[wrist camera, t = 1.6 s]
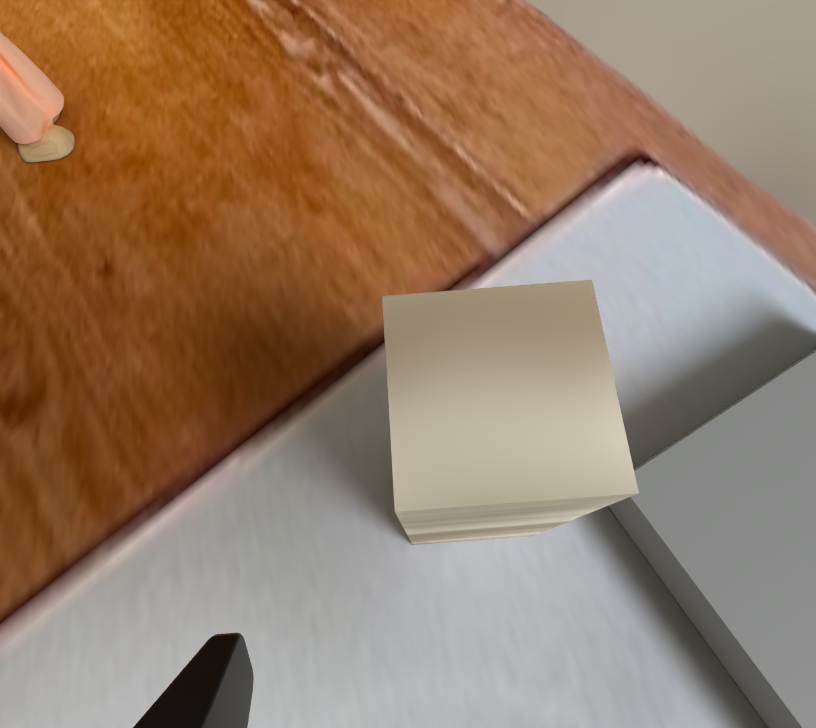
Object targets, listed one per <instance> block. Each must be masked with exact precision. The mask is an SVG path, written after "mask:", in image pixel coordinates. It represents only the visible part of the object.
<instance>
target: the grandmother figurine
mask: <svg viewBox="0 0 816 728" xmlns="http://www.w3.org/2000/svg"><path fill="white" fill-rule="evenodd" d="M63 106H64V97H63V95H62V93H61V92H60V91H59V90H58V89H57V88H56V86H55V85H54V84H53V83H52V82H51V81H50V80H49V79H48V77H47V76H46V75H45V74H44V73H43V72H42V71H41V70H40V69H39V68H38V67H37V66H36V65H35V64H34V63H33V62H32V61H31V60H30V59H29V58H28V57H27V56H26V55H25V54H24V53H23V52H22V51H21V50H20V49H19V48H17V47H16V46H15V45H14V44H13V43H12V42H11V41H10V40H8V39H7V38H6V37H5V36H4V35H3V34H2V33H1V32H0V127H1V128H2V129H3V130H4V131H5V133H6V134H7V135H8V136H9V137H10V138H11V139H12V140H13V141H14V142H15V143H19V145H18V150H19V153H20V156H21V158H22V159H23V160H24V161H26V162H41V161H49V160H56V159H60V158H62V157H65V156H66V155H68V154H69V153H70V152H71V151H72V150H73V148H74V145H75V139H74V135H73V134H72V133H71V132H70V131H69V130H67V129H66V128H64V127H61V126H57V125H54V124H53V123H54V122H55V121H56V120H57V119H58V117H59V115H60V111H61V110H62V108H63Z"/></svg>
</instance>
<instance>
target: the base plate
mask: <svg viewBox="0 0 816 728" xmlns="http://www.w3.org/2000/svg"><path fill="white" fill-rule="evenodd" d="M634 473H635V477H636V482H637V486H638V491H639V494H636V495H634V496H631V497H629V498H626V499H624V500H621V501H619V502H616V503H614V504H611V505H609V506H608V507H609V508H610V510H611V511H612V513H613V514H614V515H615V517H616V518H617V519H618V521H619V522H620V524H621V525H622V526H623V528H624V529H625V531H626V532H627V533H628V535H629V536H630V537H631V539H632V540H633V542H634V543H635V544H636V546H637V547H638V549H639V550H640V551H641V553H642V554H643V555H644V557H645V558H646V560H647V561H648V562H649V564H650V565H651V566H652V568H653V569H654V571H655V572H656V573H657V575H658V576H659V578H660V579H661V580H662V582H663V583H664V584H665V586H666V587H667V589H668V590H669V591H670V593H671V594H672V596H673V597H674V598H675V600H676V601H677V602H678V604H679V605H680V607H681V608H682V609H683V611H684V612H685V613H686V615H687V616H688V618H689V619H690V620H691V622H692V623H693V625H694V626H695V627H696V629H697V630H698V631H699V633H700V634H701V636H702V637H703V638H704V640H705V641H706V642H707V644H708V645H709V647H710V648H711V649H712V651H713V652H714V654H715V655H716V656H717V658H718V659H719V660H720V662H721V663H722V665H723V666H724V667H725V669H726V670H727V672H728V673H729V674H730V676H731V677H732V678H733V680H734V681H735V683H736V684H737V685H738V687H739V688H740V689H741V691H742V692H743V694H744V695H745V696H746V698H747V699H748V701H749V702H750V703H751V705H752V706H753V707H754V709H755V710H756V712H757V713H758V714H759V716H760V717H761V719H762V720H763V721H764V723H765V724H766V725H767V727H768V728H816V349H815V350H813V351H811V352H810V353H808V354H807V355H805V356H804V357H802V358H801V359H799V360H798V361H796V362H795V363H793V364H792V365H790V366H789V367H787V368H786V369H784V370H783V371H781V372H780V373H778V374H777V375H775V376H773V377H772V378H770V379H769V380H767V381H766V382H764V383H763V384H761V385H760V386H758V387H757V388H755V389H754V390H752V391H751V392H749V393H748V394H746V395H745V396H743V397H742V398H740V399H739V400H737V401H736V402H734V403H732V404H731V405H729V406H728V407H726V408H725V409H723V410H722V411H720V412H719V413H717V414H716V415H714V416H713V417H711V418H710V419H708V420H707V421H705V422H704V423H702V424H701V425H699V426H698V427H696V428H694V429H693V430H691V431H690V432H688V433H687V434H685V435H684V436H682V437H681V438H679V439H678V440H676V441H675V442H673V443H672V444H670V445H669V446H667V447H666V448H664V449H663V450H661V451H660V452H658V453H656V454H655V455H653V456H652V457H650V458H649V459H647V460H646V461H644V462H643V463H641V464H640V465H638V466H637V467H635V468H634Z"/></svg>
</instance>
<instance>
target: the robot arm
mask: <svg viewBox="0 0 816 728" xmlns="http://www.w3.org/2000/svg"><path fill="white" fill-rule="evenodd" d="M252 691H253V669H252V665H251V662H250V658H249V655H248V651H247V647H246V644H245V640H244V638H243V636H242V635H241V634H240V633H227V634H217V635H214V636H212V637H211V638H210V639H209V640H208V641H207V642H206V643H205V644H204V646H203V647H202V648H201V649H200V650H199V651H198V653H197V654H196V655H195V656H194V657H193V658H192V660H191V661H190V662H189V663H188V664H187V665H186V667H185V668H184V669H183V670H182V671H181V672H180V674H179V675H178V676H177V677H176V678H175V679H174V681H173V682H172V683H171V684H170V685H169V686H168V688H167V689H166V690H165V691H164V692H163V693H162V695H161V696H160V697H159V698H158V699H157V700H156V702H155V703H154V704H153V705H152V706H151V707H150V709H149V710H148V711H147V712H146V713H145V714H144V716H143V717H142V718H141V719H140V720H139V721H138V723H137V724H136V725H135V726H134V727H133V728H247V726H248V719H249V712H250V705H251V698H252Z"/></svg>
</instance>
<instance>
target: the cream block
mask: <svg viewBox="0 0 816 728" xmlns="http://www.w3.org/2000/svg"><path fill="white" fill-rule="evenodd" d="M382 301H383V318H384V335H385V352H386V370H387V387H388V404H389V421H390V438H391V455H392V473H393V490H394V507H395V513H396V515H397V517H398V519H399V521H400V523H401V524H402V526H403V528H404V530H405V532H406V534H407V536H408V538H409V540H410V541H411V543H412V545H415V544H428V543H442V542H455V541H469V540H482V539H495V538H509V537H522V536H533V535H536V534H538V533H541V532H543V531H546V530H548V529H551V528H553V527H556V526H558V525H561V524H563V523H566V522H568V521H571V520H573V519H576V518H578V517H581V516H583V515H586V514H589V513H591V512H594V511H596V510H599V509H601V508H604V507H606V506H609V505H611V504H614V503H616V502H619V501H621V500H624V499H626V498H629V497H631V496H634V495H636V494H639V491H638V486H637V482H636V477H635V473H634V468H633V464H632V459H631V455H630V450H629V446H628V441H627V437H626V432H625V427H624V423H623V418H622V414H621V409H620V405H619V400H618V396H617V391H616V387H615V382H614V378H613V373H612V369H611V364H610V360H609V355H608V351H607V346H606V342H605V337H604V333H603V328H602V323H601V319H600V314H599V310H598V305H597V301H596V296H595V292H594V287H593V283H592V280H583V281H570V282H558V283H545V284H532V285H520V286H507V287H494V288H481V289H469V290H456V291H443V292H431V293H418V294H405V295H393V296H382Z"/></svg>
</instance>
